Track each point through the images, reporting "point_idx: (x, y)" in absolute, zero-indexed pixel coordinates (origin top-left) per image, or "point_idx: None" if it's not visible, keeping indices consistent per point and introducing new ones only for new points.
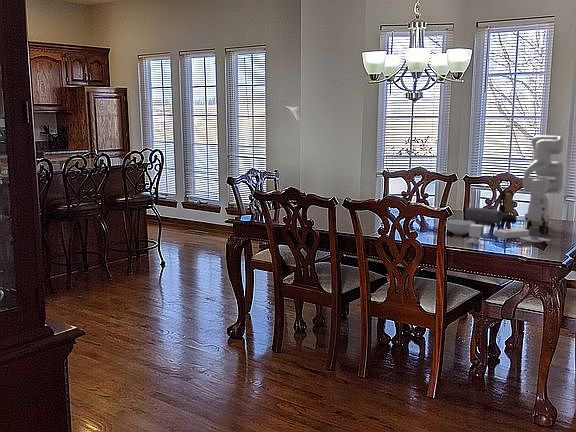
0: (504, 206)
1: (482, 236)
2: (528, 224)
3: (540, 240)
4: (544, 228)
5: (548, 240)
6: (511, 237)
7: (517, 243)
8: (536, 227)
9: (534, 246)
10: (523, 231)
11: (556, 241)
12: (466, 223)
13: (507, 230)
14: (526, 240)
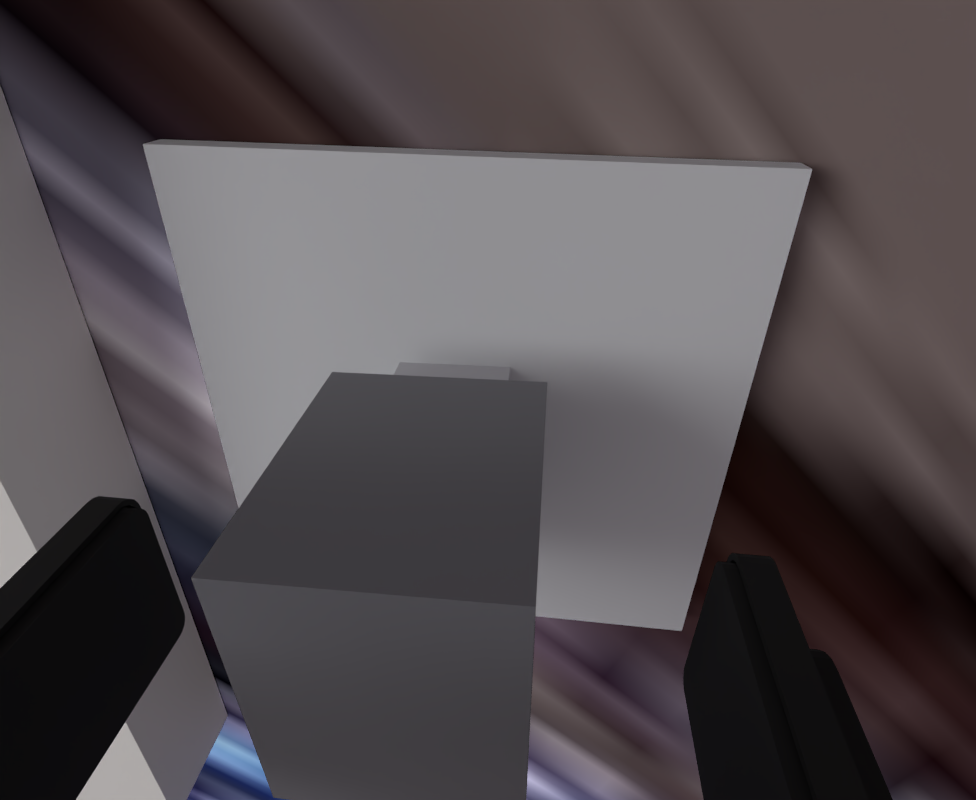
0: None
1: None
2: (63, 780)
3: (679, 470)
4: (822, 692)
5: (781, 271)
6: (189, 626)
7: (597, 797)
8: (493, 760)
9: (894, 789)
10: (12, 480)
11: (953, 6)
12: None
13: None
14: None
